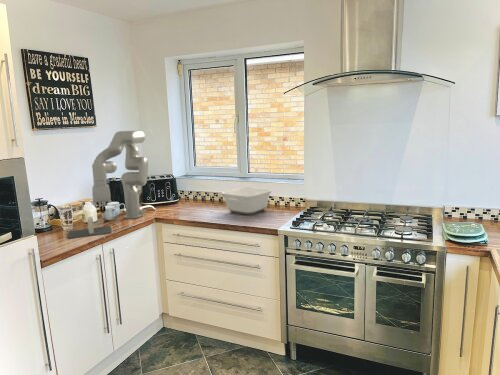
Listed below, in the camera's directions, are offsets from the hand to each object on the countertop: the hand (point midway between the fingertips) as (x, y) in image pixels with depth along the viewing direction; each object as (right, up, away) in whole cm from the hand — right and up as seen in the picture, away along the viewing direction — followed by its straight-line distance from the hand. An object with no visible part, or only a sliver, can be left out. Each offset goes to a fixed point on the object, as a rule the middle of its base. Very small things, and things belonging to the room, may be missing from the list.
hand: (103, 212), depth 229 cm
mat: (-8, -12, -1) cm, 14 cm away
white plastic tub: (+88, -2, +38) cm, 96 cm away
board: (-7, -11, 0) cm, 13 cm away
